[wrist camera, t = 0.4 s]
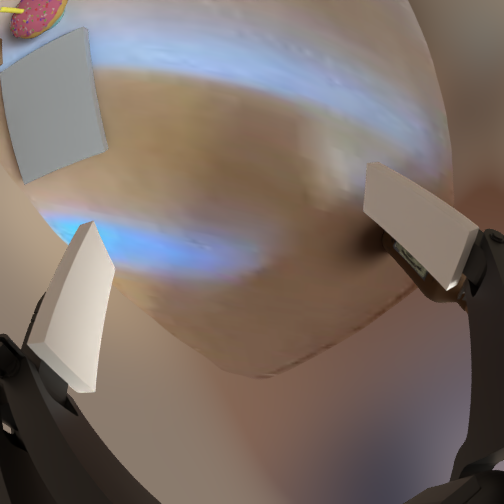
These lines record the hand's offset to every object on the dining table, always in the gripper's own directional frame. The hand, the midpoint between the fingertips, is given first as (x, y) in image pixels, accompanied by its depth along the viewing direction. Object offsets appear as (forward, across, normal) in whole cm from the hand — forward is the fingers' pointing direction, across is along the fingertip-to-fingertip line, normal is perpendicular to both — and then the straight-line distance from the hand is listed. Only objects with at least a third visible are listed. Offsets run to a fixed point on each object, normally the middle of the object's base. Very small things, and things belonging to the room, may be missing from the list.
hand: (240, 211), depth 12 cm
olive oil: (+26, +37, -26) cm, 52 cm away
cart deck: (+26, -20, +10) cm, 34 cm away
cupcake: (+27, -18, +25) cm, 41 cm away
